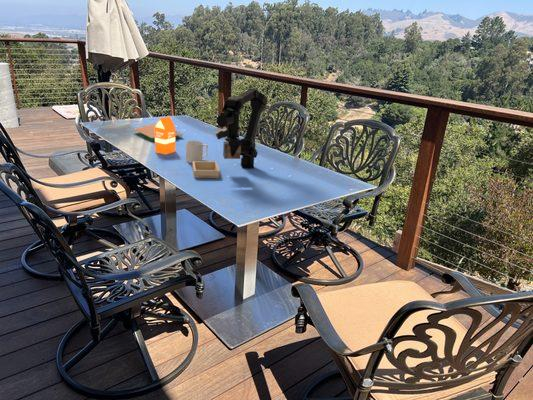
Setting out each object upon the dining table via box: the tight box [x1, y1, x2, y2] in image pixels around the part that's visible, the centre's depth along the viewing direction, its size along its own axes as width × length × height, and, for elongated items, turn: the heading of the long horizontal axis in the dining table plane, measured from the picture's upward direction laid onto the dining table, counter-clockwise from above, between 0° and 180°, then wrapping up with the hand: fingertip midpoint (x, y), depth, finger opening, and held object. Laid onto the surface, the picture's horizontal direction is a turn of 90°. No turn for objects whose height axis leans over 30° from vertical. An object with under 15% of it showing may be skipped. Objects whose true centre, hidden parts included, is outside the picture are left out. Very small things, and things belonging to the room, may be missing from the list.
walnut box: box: [222, 141, 241, 160], centre depth 194 cm, size 8×5×7 cm, turn 103°
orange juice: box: [154, 116, 176, 155], centre depth 223 cm, size 8×9×20 cm
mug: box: [185, 140, 209, 164], centre depth 211 cm, size 12×9×11 cm
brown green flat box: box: [133, 122, 184, 142], centre depth 257 cm, size 23×33×8 cm
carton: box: [192, 160, 221, 179], centre depth 195 cm, size 12×19×5 cm, turn 13°
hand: (231, 154), depth 195 cm, fingers closed on walnut box, 5 cm apart
